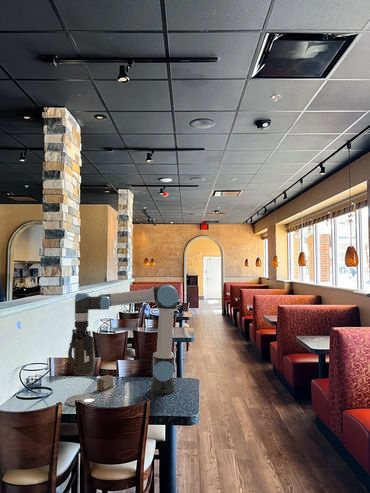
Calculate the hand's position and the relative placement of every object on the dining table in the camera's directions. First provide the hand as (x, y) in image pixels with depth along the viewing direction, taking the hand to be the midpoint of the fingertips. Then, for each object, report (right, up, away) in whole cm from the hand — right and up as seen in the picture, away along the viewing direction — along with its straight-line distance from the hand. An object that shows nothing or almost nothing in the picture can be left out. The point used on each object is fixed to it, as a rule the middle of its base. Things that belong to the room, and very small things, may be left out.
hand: (81, 360), depth 215 cm
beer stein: (0, -7, 0) cm, 7 cm away
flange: (0, -23, -1) cm, 23 cm away
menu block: (+9, -24, +20) cm, 32 cm away
